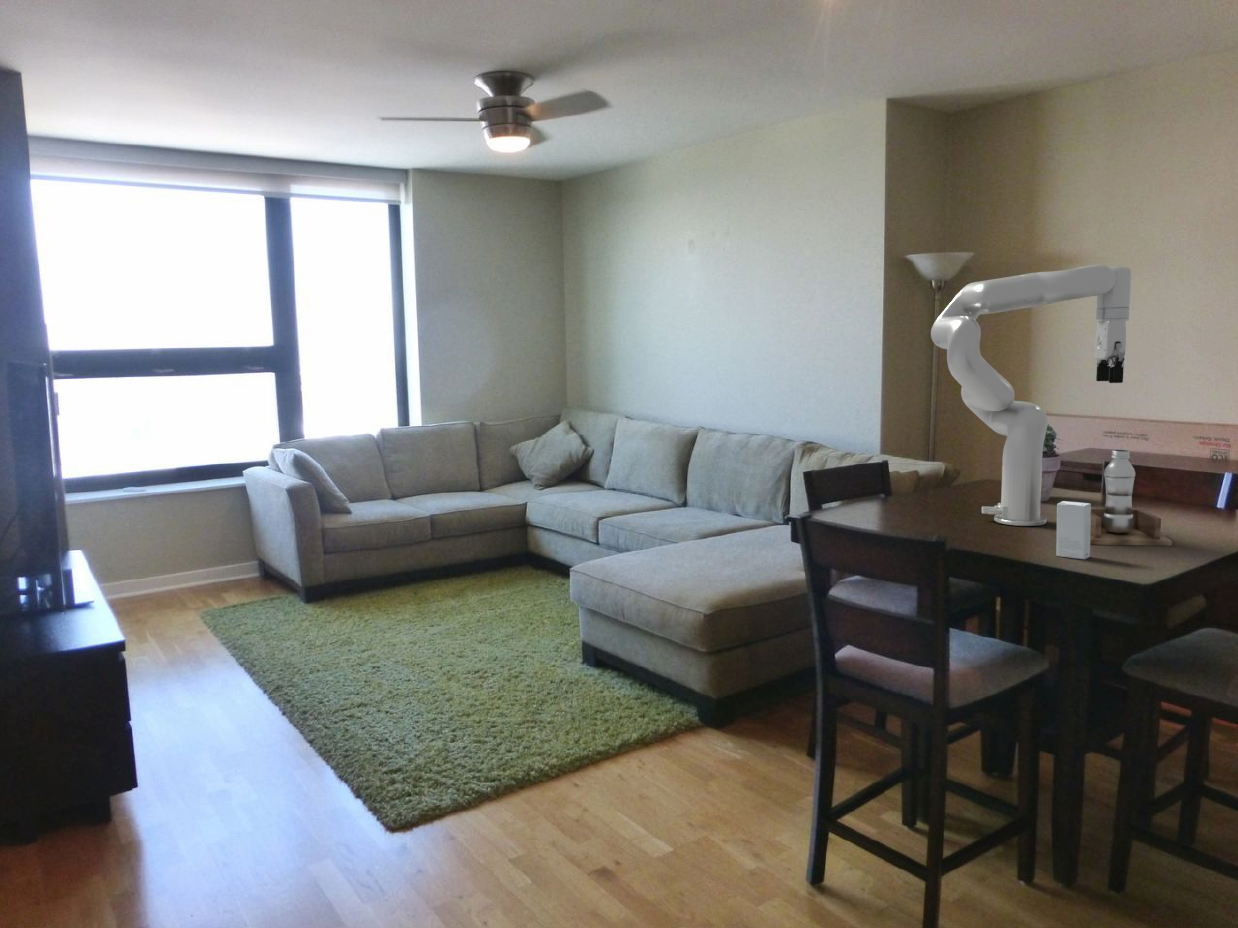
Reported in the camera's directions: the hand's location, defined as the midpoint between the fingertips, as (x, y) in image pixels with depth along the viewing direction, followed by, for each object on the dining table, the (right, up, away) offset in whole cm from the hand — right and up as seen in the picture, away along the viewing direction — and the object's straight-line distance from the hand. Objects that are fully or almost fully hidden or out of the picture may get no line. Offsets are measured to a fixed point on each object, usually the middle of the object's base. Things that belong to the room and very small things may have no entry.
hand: (1109, 382), depth 239 cm
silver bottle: (-8, -38, -18) cm, 43 cm away
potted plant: (-4, -32, +36) cm, 48 cm away
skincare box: (-27, -42, -35) cm, 61 cm away
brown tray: (-8, -39, -18) cm, 44 cm away
